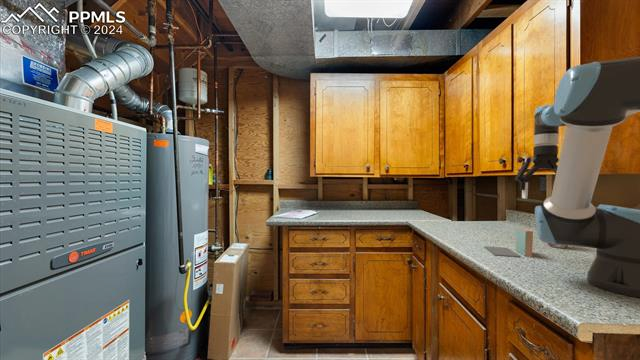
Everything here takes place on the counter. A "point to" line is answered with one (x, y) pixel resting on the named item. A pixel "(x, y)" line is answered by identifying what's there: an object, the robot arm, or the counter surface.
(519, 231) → the tile
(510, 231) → the counter surface
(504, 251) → the mat
